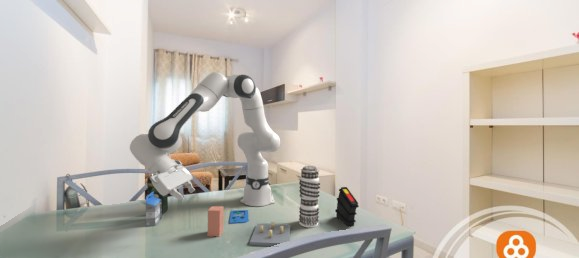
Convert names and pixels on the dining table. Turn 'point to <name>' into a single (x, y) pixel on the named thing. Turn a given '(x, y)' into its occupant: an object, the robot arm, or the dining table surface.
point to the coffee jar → (157, 195)
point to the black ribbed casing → (346, 206)
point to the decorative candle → (309, 196)
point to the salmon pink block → (215, 221)
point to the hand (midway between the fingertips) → (188, 195)
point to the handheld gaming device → (238, 216)
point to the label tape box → (153, 210)
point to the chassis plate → (270, 234)
